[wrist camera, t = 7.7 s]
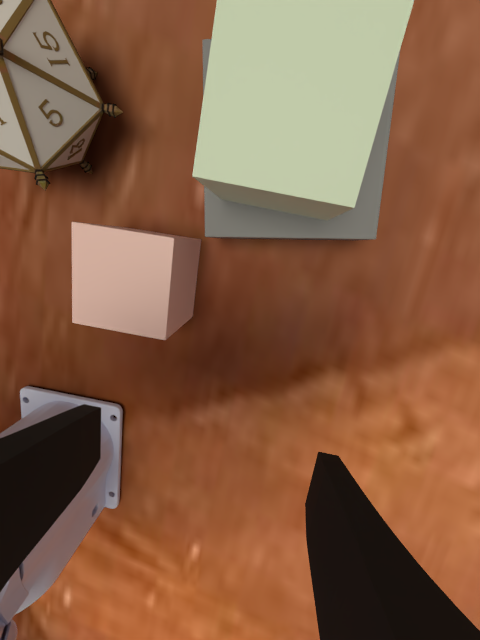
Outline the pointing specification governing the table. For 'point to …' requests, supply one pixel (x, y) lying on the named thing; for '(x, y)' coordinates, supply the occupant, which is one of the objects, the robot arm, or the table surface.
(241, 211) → the base block
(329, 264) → the table surface
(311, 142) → the sage cube
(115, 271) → the rose cube
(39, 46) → the game die
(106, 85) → the table surface
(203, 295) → the table surface
